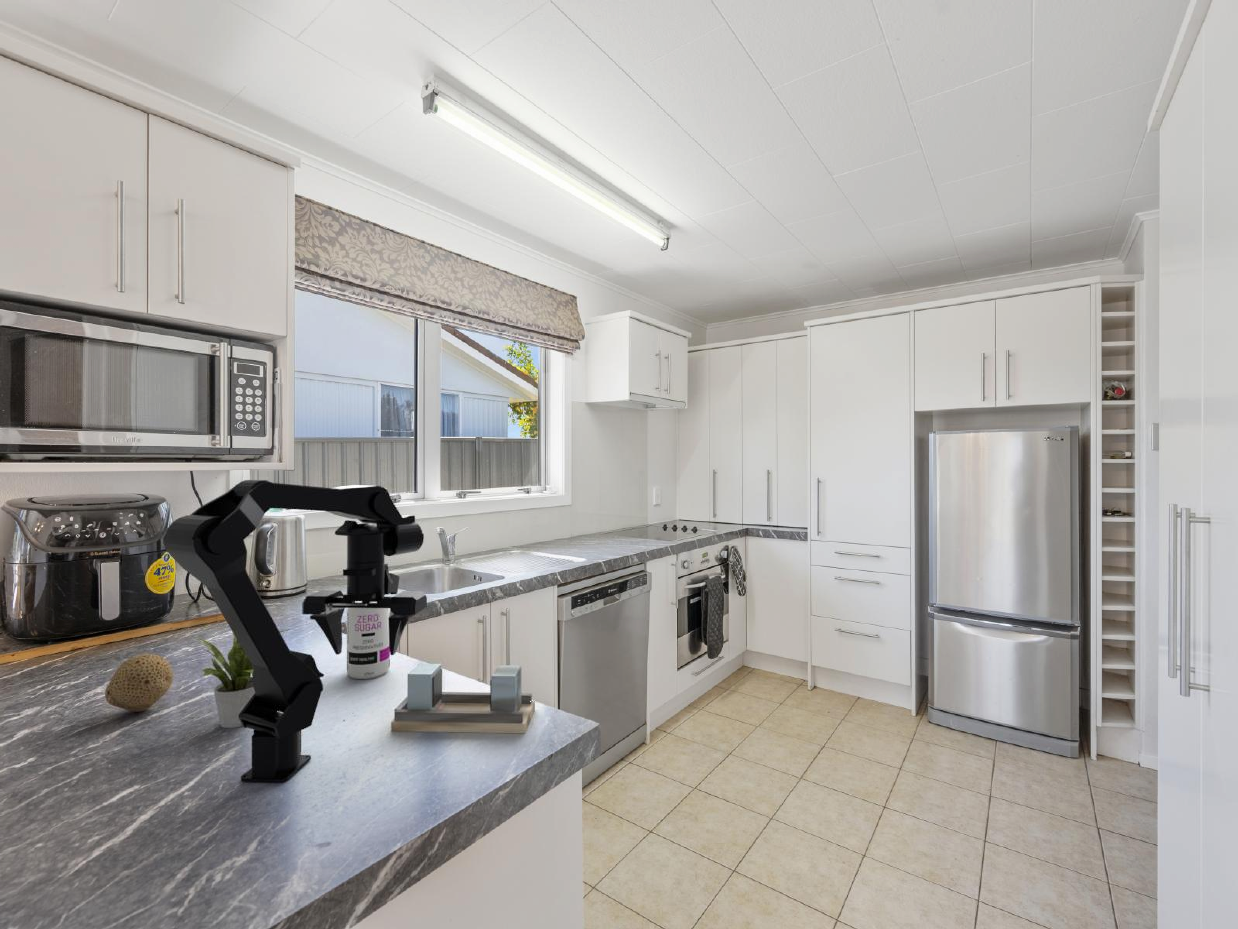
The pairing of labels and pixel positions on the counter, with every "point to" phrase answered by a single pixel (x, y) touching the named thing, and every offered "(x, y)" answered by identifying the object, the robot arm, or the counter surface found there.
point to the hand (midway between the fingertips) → (365, 654)
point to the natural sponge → (139, 682)
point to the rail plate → (474, 709)
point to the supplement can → (367, 642)
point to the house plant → (231, 682)
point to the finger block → (424, 687)
